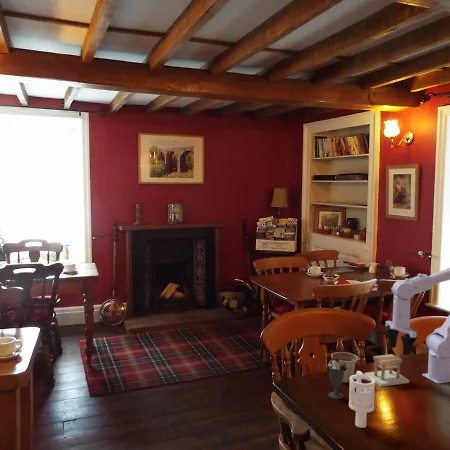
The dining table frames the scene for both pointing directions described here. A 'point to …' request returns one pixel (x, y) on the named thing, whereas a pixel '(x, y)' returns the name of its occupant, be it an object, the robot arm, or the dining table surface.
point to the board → (387, 378)
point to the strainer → (361, 397)
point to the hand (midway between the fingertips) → (399, 351)
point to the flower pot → (347, 363)
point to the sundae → (336, 376)
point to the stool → (387, 364)
